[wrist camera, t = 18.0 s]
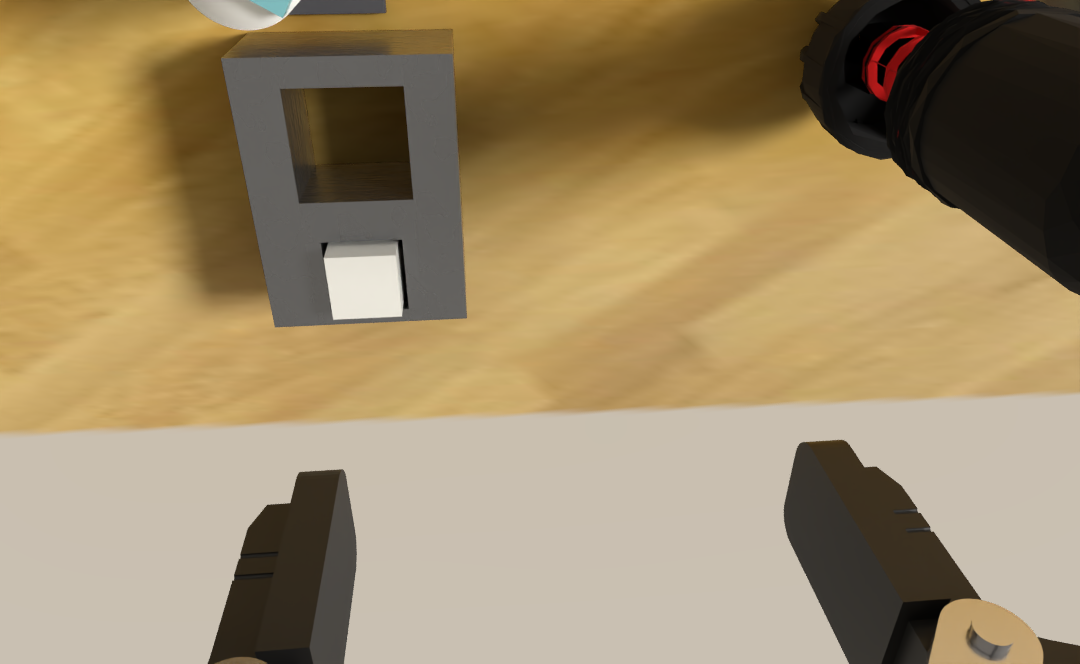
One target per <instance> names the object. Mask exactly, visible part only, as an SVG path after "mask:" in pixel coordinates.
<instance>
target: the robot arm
mask: <svg viewBox="0 0 1080 664" xmlns="http://www.w3.org/2000/svg"><path fill="white" fill-rule="evenodd" d="M784 522H785V528H786V532H787V535H788V538H789V541H790V543H791V545H792V547H793V549H794V551H795V553H796V555H797V557H798V559H799V562H800V563H801V566H802V568H803V570H804V572H805V574H806V576H807V578H808V580H809V582H810V584H811V586H812V588H813V590H814V592H815V594H816V596H817V599H818V600H819V603H820V605H821V607H822V609H823V611H824V613H825V615H826V617H827V619H828V621H829V623H830V625H831V627H832V629H833V631H834V633H835V635H836V637H837V640H838V642H839V644H840V646H841V648H842V650H843V652H844V654H845V656H846V658H847V660H848V662H849V664H1080V646H1078V645H1073V644H1068V643H1062V642H1057V641H1052V640H1047V639H1043V638H1039V637H1037V636H1036V635H1035V633H1034V632H1033V630H1032V629H1031V628H1030V627H1029V626H1028V625H1027V624H1026V623H1025V622H1024V621H1023V620H1021V619H1020V618H1019V617H1018V616H1016V615H1015V614H1013V613H1012V612H1010V611H1008V610H1007V609H1005V608H1003V607H1001V606H998V605H996V604H993V603H990V602H987V601H983V600H981V598H980V597H979V596H978V594H977V593H976V591H975V590H974V589H973V587H972V586H971V584H970V583H969V581H968V580H967V579H966V577H965V576H964V575H963V573H962V572H961V570H960V569H959V567H958V566H957V564H956V563H955V561H954V560H953V559H952V558H951V556H950V554H949V553H948V552H947V550H946V549H945V547H944V546H943V544H942V543H941V542H940V540H939V539H938V537H937V536H936V535H935V533H934V532H931V531H930V526H929V524H928V523H927V522H926V520H925V519H924V518H923V516H922V514H921V513H918V512H917V507H916V506H915V504H914V503H913V502H912V500H911V499H910V497H909V496H908V494H907V493H906V492H905V490H904V489H903V488H902V486H901V485H900V484H898V483H897V482H896V481H894V480H893V479H892V478H890V477H889V476H888V475H886V474H885V473H884V472H883V471H881V470H880V469H879V468H877V467H864V466H863V465H862V463H861V462H860V460H859V459H858V457H857V456H856V454H855V453H854V451H853V450H852V448H851V447H850V445H849V444H848V443H847V442H846V441H844V440H832V441H816V442H803V443H800V444H799V446H798V448H797V451H796V454H795V459H794V463H793V468H792V473H791V477H790V481H789V486H788V491H787V495H786V500H785V505H784ZM356 555H357V552H356V535H355V528H354V522H353V516H352V510H351V504H350V498H349V492H348V487H347V480H346V475H345V472H344V470H326V471H310V472H300V473H299V474H298V476H297V479H296V482H295V487H294V491H293V495H292V499H291V503H288V504H275V505H274V504H273V505H267V506H266V507H265V508H264V510H263V511H262V512H261V513H260V515H259V516H258V517H257V518H256V519H255V521H254V522H253V523H252V524H251V525H250V527H249V528H248V530H247V533H246V537H245V540H244V544H243V547H242V551H241V558H240V559H239V561H238V564H237V568H236V571H235V574H234V581H232V584H231V588H230V591H229V595H228V598H227V602H226V605H225V608H224V612H223V615H222V618H221V622H220V625H219V629H218V632H217V635H216V639H215V642H214V646H213V649H212V652H211V656H210V659H209V662H208V664H344V657H345V649H346V642H347V634H348V626H349V619H350V611H351V603H352V595H353V588H354V580H355V572H356Z"/></svg>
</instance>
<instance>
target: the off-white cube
mask: <svg viewBox="0 0 1080 664" xmlns="http://www.w3.org/2000/svg"><path fill="white" fill-rule="evenodd" d="M324 264H325V270H326V277H327V283H328V289H329V296H330V302H331V309H332V315H333V320H337V319H359V318H380V317H402V312H403V302H404V292H405V282H406V274H405V264H404V254H403V243H402V240H377V241H351V242H328V246H327V249H326V252H325V256H324Z"/></svg>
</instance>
